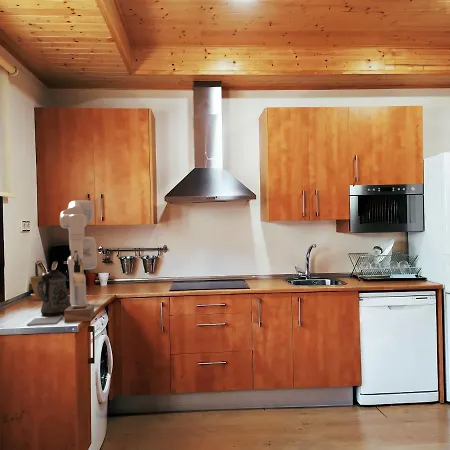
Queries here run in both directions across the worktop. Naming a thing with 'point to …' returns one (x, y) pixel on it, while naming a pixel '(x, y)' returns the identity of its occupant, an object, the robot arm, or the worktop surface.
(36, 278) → the plant pot
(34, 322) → the slate mat
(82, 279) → the maple plug
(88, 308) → the walnut holder
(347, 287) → the worktop surface
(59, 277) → the beer stein
